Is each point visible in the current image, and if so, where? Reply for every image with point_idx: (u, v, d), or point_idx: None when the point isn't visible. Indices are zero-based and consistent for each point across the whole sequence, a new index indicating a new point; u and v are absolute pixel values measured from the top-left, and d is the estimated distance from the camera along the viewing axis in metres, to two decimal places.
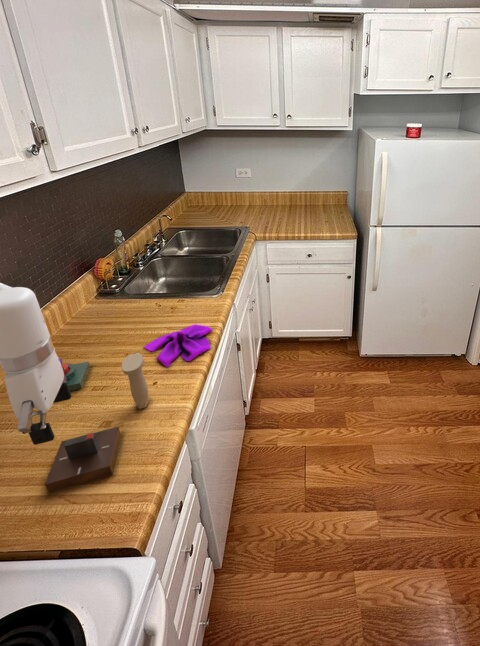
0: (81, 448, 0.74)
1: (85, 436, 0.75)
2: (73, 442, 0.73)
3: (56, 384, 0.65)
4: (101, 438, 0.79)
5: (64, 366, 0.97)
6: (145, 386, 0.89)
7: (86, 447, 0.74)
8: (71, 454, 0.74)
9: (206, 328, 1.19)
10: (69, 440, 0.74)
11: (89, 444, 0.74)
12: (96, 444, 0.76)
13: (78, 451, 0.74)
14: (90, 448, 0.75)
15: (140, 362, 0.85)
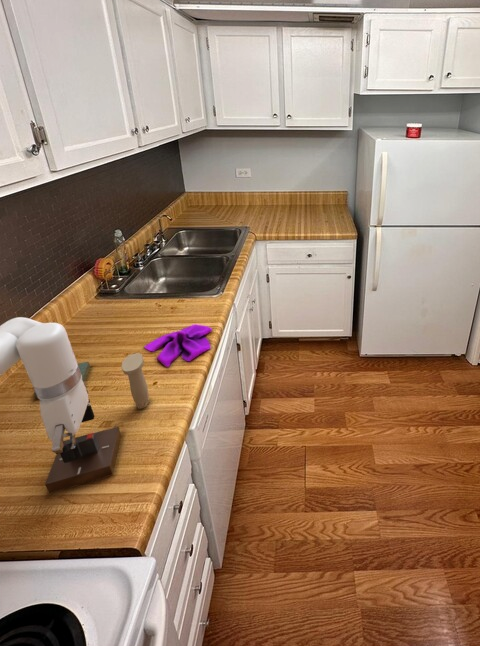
0: (81, 448, 0.74)
1: (85, 436, 0.75)
2: None
3: (83, 407, 0.72)
4: (101, 438, 0.79)
5: None
6: (145, 386, 0.89)
7: (86, 447, 0.74)
8: None
9: (206, 328, 1.19)
10: (69, 440, 0.74)
11: (89, 444, 0.74)
12: (96, 444, 0.76)
13: None
14: (90, 448, 0.75)
15: (140, 362, 0.85)
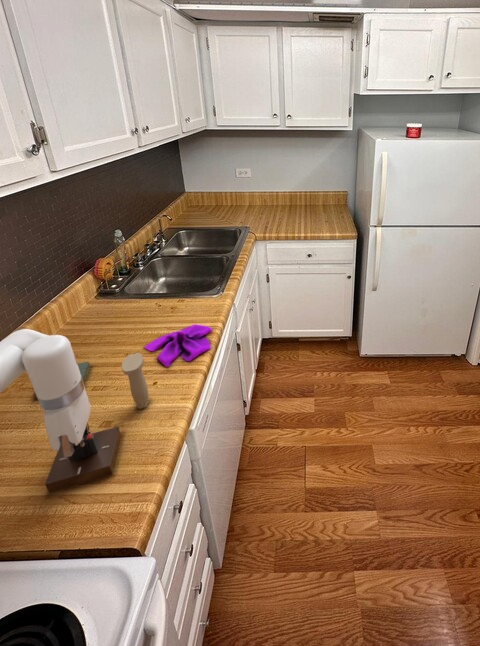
0: None
1: (85, 436, 0.75)
2: None
3: (85, 417, 0.73)
4: (101, 438, 0.79)
5: None
6: (145, 386, 0.89)
7: None
8: None
9: (206, 328, 1.19)
10: None
11: (89, 444, 0.74)
12: (96, 444, 0.76)
13: None
14: (90, 448, 0.75)
15: (140, 362, 0.85)
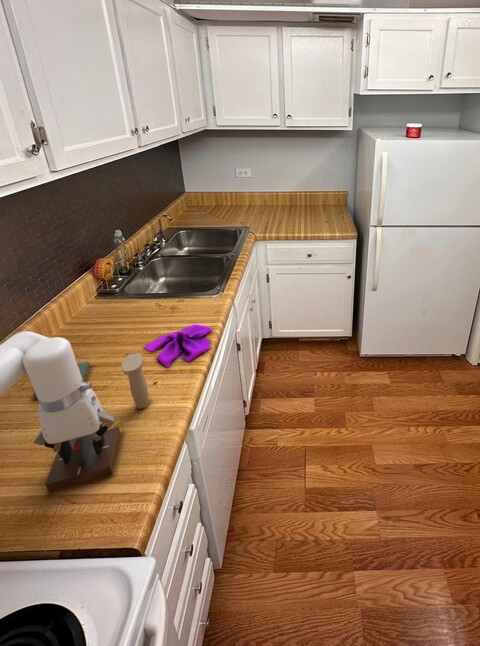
0: None
1: (79, 443, 0.73)
2: None
3: (71, 432, 0.70)
4: None
5: None
6: (145, 386, 0.89)
7: None
8: None
9: (206, 328, 1.19)
10: None
11: None
12: (78, 459, 0.72)
13: None
14: None
15: (140, 362, 0.85)
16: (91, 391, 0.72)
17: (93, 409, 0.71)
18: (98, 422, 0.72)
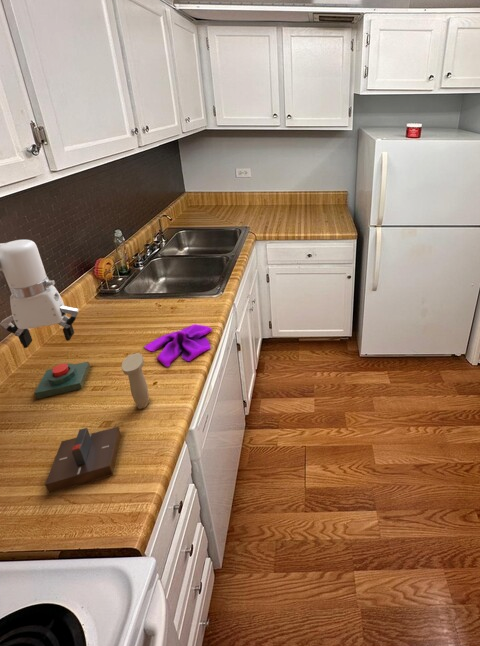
0: None
1: (79, 443, 0.73)
2: (78, 435, 0.75)
3: (37, 320, 0.86)
4: (101, 438, 0.79)
5: (64, 366, 0.97)
6: (145, 386, 0.89)
7: None
8: None
9: (206, 328, 1.19)
10: (84, 430, 0.76)
11: None
12: (78, 459, 0.72)
13: None
14: None
15: (140, 362, 0.85)
16: (55, 289, 0.88)
17: (56, 303, 0.87)
18: (59, 312, 0.88)
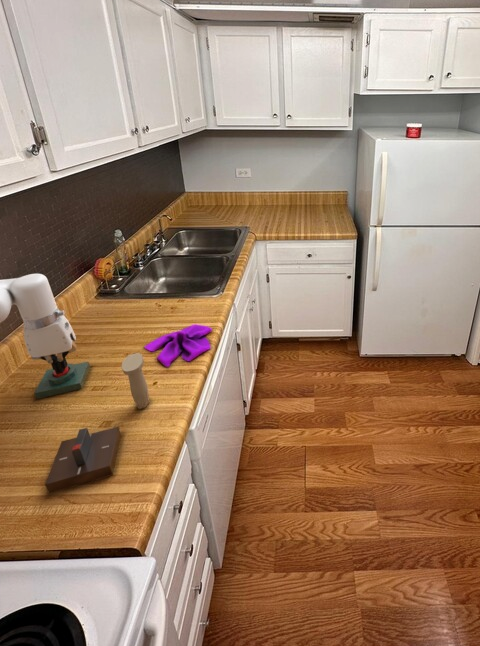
0: None
1: (79, 443, 0.73)
2: (78, 435, 0.75)
3: (49, 349, 0.91)
4: (101, 438, 0.79)
5: (65, 368, 0.97)
6: (145, 386, 0.89)
7: None
8: None
9: (206, 328, 1.19)
10: (84, 430, 0.76)
11: None
12: (78, 459, 0.72)
13: None
14: None
15: (140, 362, 0.85)
16: (65, 318, 0.93)
17: (66, 331, 0.92)
18: None
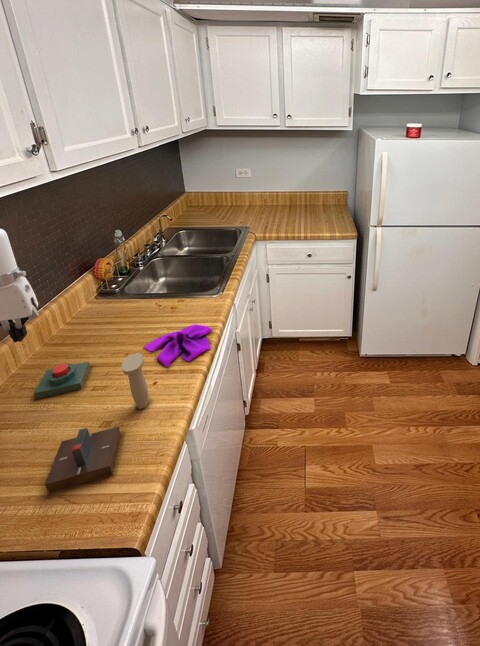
0: None
1: (79, 443, 0.73)
2: (78, 435, 0.75)
3: (6, 313, 0.83)
4: (101, 438, 0.79)
5: (64, 366, 0.97)
6: (145, 386, 0.89)
7: None
8: None
9: (206, 328, 1.19)
10: (84, 430, 0.76)
11: None
12: (78, 459, 0.72)
13: None
14: None
15: (140, 362, 0.85)
16: (26, 280, 0.84)
17: (26, 295, 0.84)
18: None
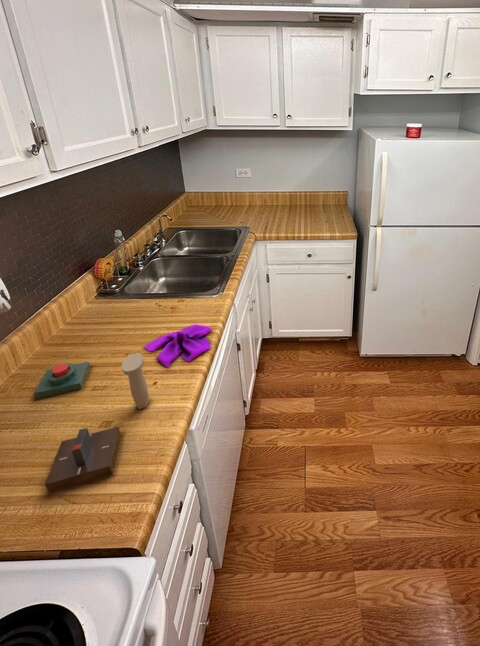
0: None
1: (79, 443, 0.73)
2: (78, 435, 0.75)
3: None
4: (101, 438, 0.79)
5: (64, 366, 0.97)
6: (145, 386, 0.89)
7: None
8: None
9: (206, 328, 1.19)
10: (84, 430, 0.76)
11: None
12: (78, 459, 0.72)
13: None
14: None
15: (140, 362, 0.85)
16: None
17: None
18: (0, 306, 0.81)
